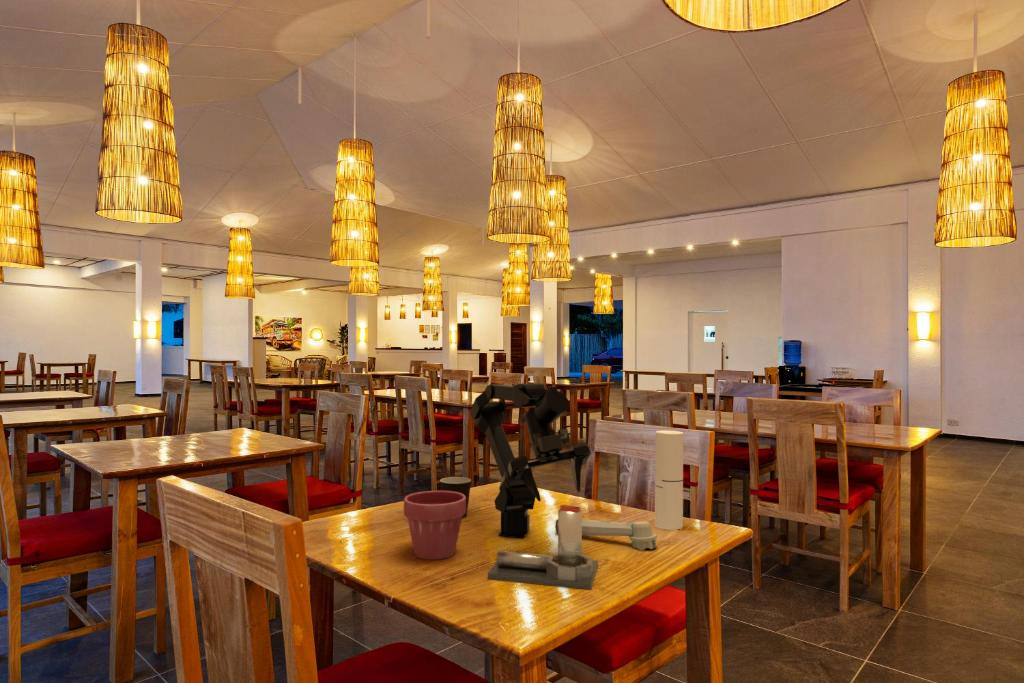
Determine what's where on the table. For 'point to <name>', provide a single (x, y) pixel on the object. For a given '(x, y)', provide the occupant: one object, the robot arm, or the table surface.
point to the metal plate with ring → (543, 570)
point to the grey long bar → (621, 531)
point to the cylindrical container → (669, 480)
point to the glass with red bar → (569, 536)
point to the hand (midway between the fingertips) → (559, 496)
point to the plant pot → (434, 522)
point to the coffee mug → (457, 487)
